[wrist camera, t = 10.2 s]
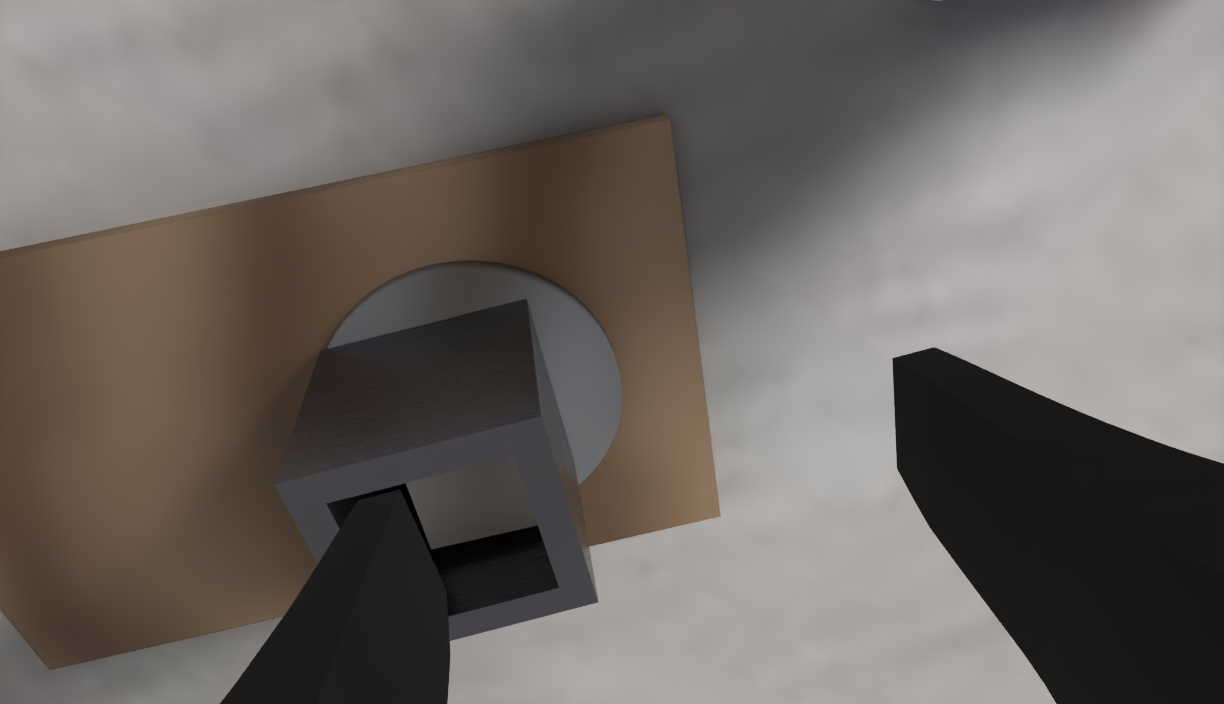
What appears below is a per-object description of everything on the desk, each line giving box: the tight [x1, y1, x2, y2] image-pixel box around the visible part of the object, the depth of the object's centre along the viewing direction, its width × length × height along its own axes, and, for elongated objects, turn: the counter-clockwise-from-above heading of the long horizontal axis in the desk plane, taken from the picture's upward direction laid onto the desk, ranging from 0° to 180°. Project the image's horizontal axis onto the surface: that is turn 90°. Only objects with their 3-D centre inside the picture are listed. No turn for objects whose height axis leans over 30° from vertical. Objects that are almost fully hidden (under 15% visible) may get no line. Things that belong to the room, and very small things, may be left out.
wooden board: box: [0, 114, 720, 670], centre depth 20 cm, size 20×12×5 cm, turn 99°
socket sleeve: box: [274, 299, 598, 641], centre depth 18 cm, size 5×5×5 cm
